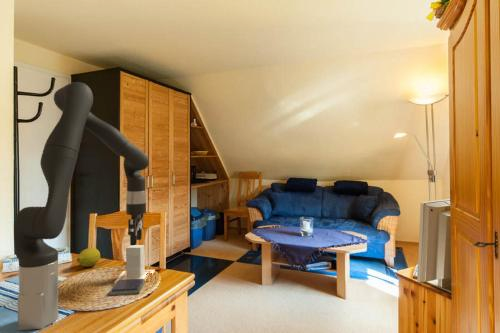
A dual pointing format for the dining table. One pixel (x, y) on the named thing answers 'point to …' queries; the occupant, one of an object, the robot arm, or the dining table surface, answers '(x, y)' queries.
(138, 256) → the skincare box
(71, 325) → the dining table surface
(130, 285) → the pad
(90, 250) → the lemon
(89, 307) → the dining table surface
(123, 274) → the paper sheet
